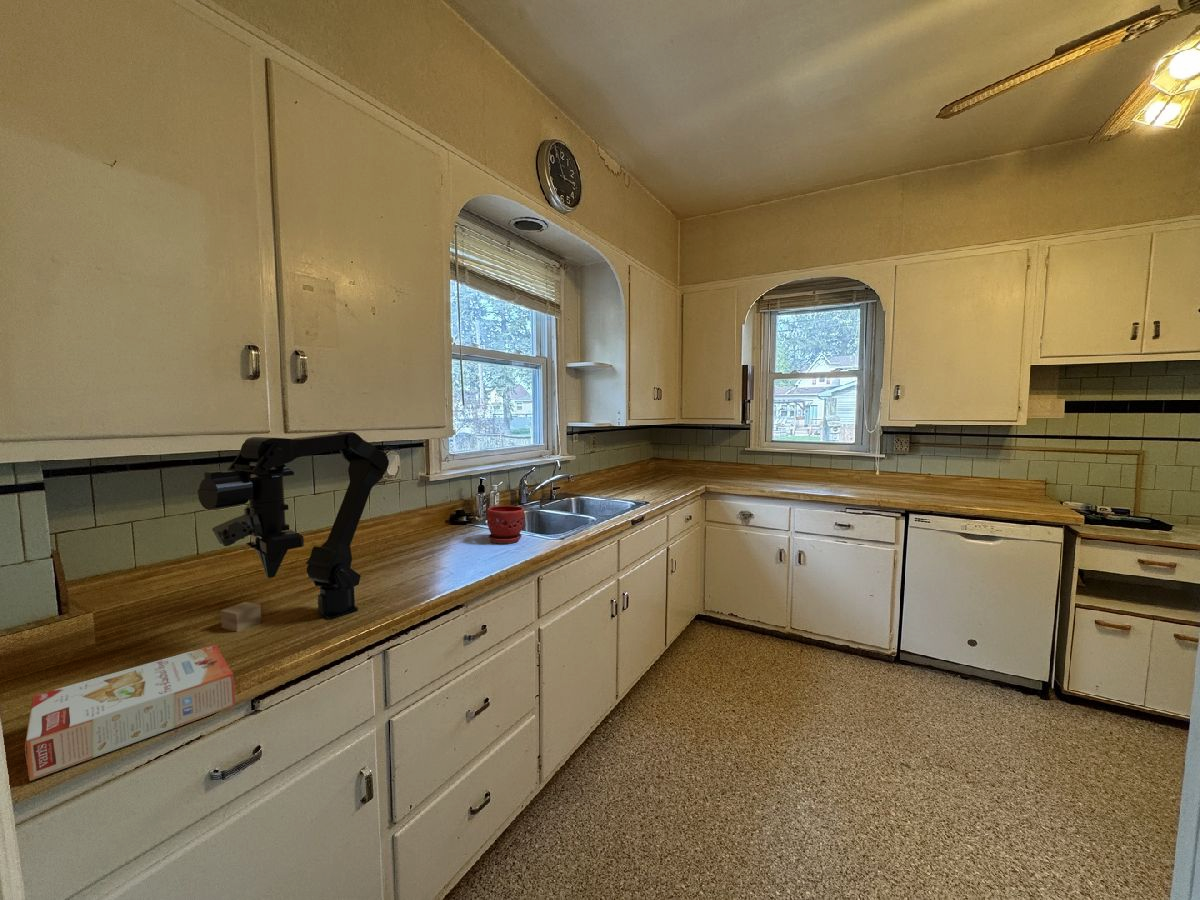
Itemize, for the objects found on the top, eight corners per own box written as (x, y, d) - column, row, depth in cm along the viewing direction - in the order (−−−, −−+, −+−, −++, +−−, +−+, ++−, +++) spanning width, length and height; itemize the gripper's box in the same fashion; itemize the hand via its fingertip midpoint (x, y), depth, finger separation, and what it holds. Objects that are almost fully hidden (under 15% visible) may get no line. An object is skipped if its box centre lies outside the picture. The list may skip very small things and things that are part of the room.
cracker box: (234, 669, 73) (22, 740, 58) (237, 706, 74) (28, 786, 58) (216, 640, 83) (29, 694, 67) (218, 673, 83) (33, 734, 68)
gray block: (246, 619, 105) (245, 601, 105) (261, 622, 104) (260, 604, 103) (221, 628, 101) (220, 610, 100) (237, 632, 99) (236, 614, 99)
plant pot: (515, 546, 162) (515, 512, 161) (480, 544, 165) (480, 510, 164) (530, 537, 175) (529, 505, 174) (497, 534, 178) (497, 503, 177)
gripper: (202, 500, 93) (207, 577, 94) (231, 513, 81) (236, 601, 83) (268, 493, 102) (272, 563, 103) (303, 504, 90) (306, 583, 91)
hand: (271, 577), depth 95 cm, fingers closed
